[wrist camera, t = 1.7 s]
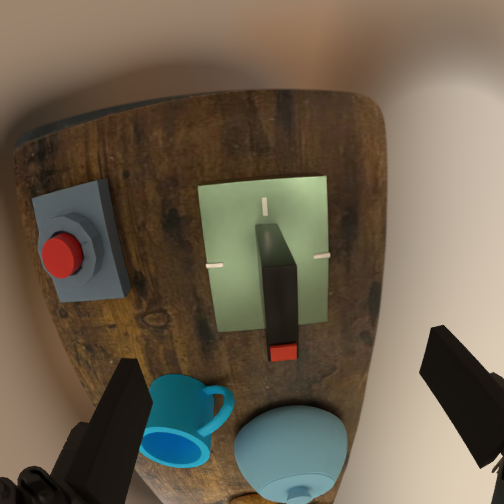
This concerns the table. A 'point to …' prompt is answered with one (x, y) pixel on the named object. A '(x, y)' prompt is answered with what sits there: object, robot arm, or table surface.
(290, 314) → the black slab
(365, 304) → the table surface
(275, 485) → the sugar bowl
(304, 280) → the dial panel
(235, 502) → the bagel
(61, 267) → the button
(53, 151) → the table surface
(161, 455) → the mug
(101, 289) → the button housing
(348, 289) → the table surface
